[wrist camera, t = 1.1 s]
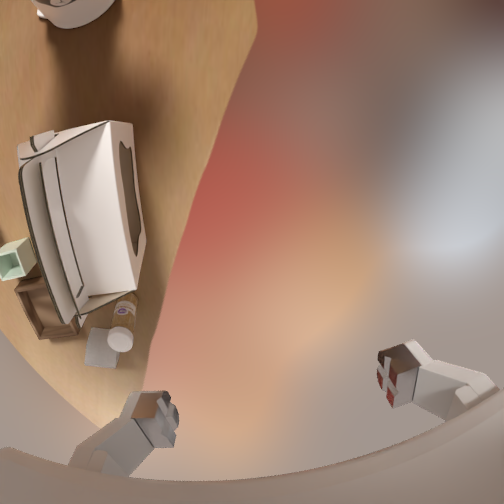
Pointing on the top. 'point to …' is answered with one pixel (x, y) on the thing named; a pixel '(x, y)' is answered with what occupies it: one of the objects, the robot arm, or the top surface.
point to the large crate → (42, 310)
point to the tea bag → (100, 350)
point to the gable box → (84, 214)
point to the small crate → (16, 259)
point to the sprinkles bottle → (123, 323)
